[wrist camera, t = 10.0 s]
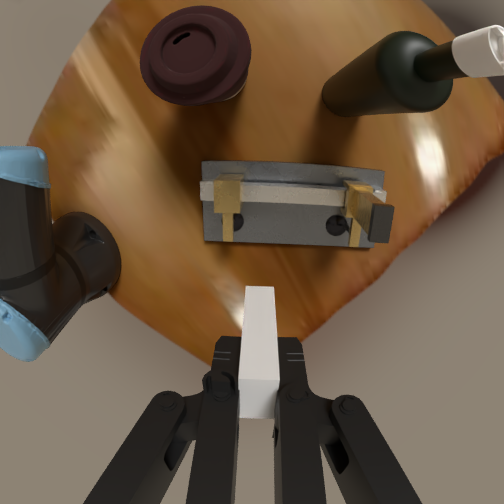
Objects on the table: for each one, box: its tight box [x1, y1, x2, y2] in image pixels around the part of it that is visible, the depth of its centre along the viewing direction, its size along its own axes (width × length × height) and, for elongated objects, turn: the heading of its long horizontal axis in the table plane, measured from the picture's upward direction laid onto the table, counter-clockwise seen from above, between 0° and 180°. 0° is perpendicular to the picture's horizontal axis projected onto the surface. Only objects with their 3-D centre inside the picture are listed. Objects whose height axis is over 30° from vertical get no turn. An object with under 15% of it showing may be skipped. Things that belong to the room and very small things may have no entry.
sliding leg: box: [340, 180, 394, 247], centre depth 32 cm, size 3×8×12 cm, turn 179°
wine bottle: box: [322, 25, 504, 117], centre depth 19 cm, size 6×6×30 cm
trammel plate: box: [200, 160, 387, 248], centre depth 36 cm, size 24×11×6 cm, turn 89°
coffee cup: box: [140, 6, 251, 106], centre depth 25 cm, size 10×10×15 cm
